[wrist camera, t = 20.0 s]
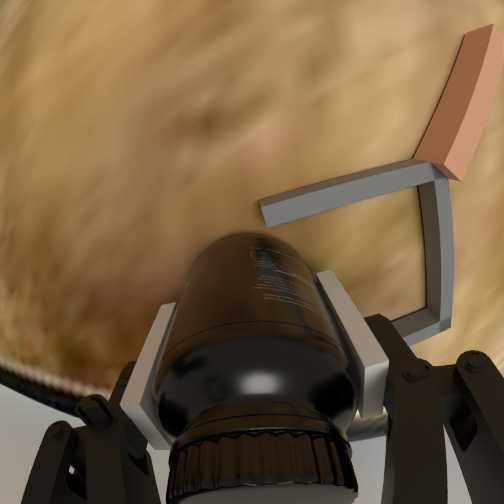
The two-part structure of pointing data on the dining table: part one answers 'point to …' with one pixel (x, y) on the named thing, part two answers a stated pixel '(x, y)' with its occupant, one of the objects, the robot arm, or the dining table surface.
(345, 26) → the dining table surface
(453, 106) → the holder
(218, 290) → the supplement bottle
